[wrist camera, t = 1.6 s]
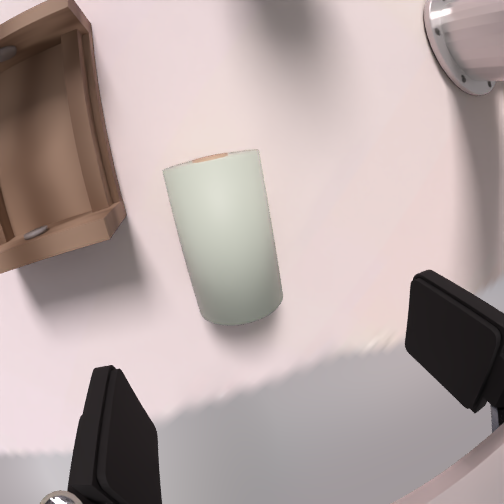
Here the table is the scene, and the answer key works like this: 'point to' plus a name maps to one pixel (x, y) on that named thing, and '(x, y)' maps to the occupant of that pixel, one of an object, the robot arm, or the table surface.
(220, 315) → the paper roll
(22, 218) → the walnut cradle
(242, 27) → the table surface
